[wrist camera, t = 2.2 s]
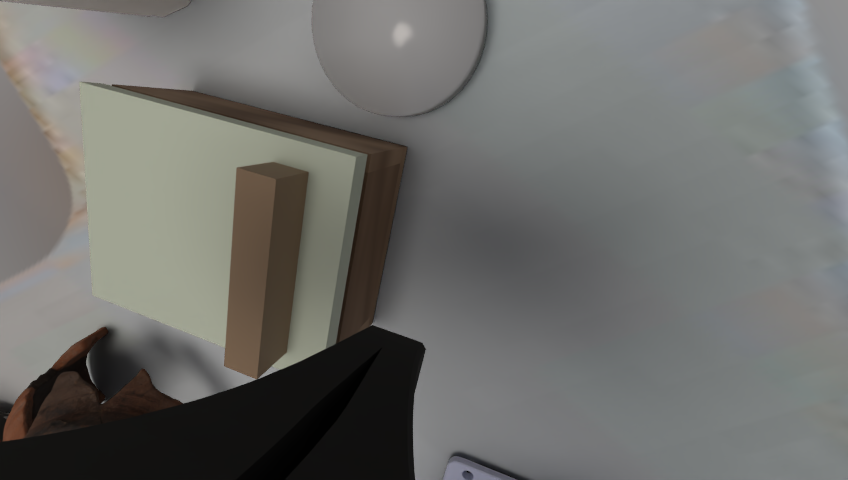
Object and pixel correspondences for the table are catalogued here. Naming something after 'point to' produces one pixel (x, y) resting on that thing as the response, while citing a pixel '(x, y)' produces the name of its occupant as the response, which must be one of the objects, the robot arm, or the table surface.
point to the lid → (218, 225)
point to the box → (374, 199)
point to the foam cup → (116, 5)
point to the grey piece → (399, 50)
